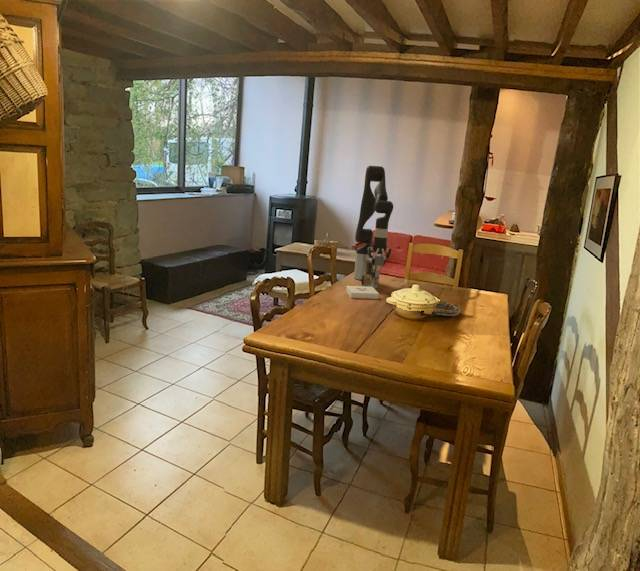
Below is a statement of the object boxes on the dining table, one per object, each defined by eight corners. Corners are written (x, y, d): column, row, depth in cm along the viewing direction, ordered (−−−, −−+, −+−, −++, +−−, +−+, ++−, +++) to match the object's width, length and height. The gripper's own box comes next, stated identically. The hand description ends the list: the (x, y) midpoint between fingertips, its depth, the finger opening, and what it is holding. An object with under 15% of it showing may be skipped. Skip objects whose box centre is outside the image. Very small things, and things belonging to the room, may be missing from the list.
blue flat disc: (437, 303, 274) (438, 295, 273) (477, 318, 253) (479, 309, 252) (403, 309, 257) (404, 300, 256) (443, 325, 236) (444, 315, 235)
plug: (372, 268, 281) (373, 254, 279) (380, 268, 281) (382, 255, 280) (374, 270, 276) (375, 256, 274) (383, 270, 277) (384, 256, 275)
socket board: (345, 290, 287) (346, 285, 286) (372, 291, 289) (372, 286, 288) (350, 297, 271) (351, 292, 270) (378, 298, 273) (378, 293, 273)
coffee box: (378, 287, 300) (381, 262, 296) (373, 289, 294) (376, 263, 291) (365, 284, 304) (367, 259, 301) (360, 286, 299) (363, 261, 295)
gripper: (390, 235, 279) (387, 264, 283) (366, 234, 276) (364, 263, 280) (394, 237, 272) (391, 267, 276) (370, 236, 269) (367, 266, 273)
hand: (377, 265), depth 278 cm, fingers closed on plug, 5 cm apart
